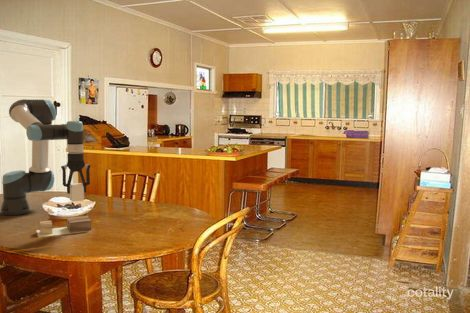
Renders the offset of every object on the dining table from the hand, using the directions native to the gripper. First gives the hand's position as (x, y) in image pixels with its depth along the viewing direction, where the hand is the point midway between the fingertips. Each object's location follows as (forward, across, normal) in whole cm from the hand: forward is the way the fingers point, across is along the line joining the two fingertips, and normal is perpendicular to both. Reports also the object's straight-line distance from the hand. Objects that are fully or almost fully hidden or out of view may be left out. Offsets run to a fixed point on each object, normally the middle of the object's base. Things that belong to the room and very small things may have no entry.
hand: (76, 199), depth 213 cm
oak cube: (+15, -14, -1) cm, 21 cm away
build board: (+16, -6, -1) cm, 17 cm away
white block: (0, 0, 0) cm, 0 cm away
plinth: (+15, 0, -1) cm, 15 cm away
